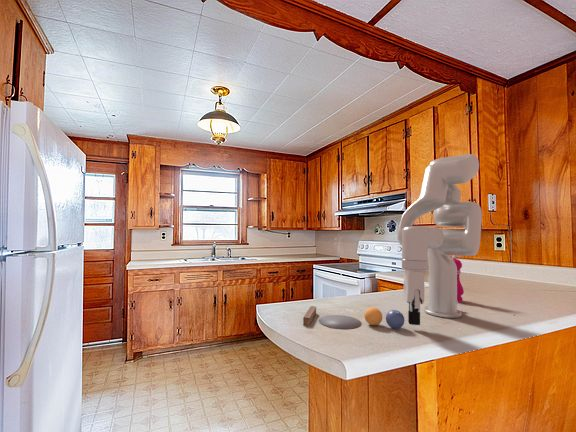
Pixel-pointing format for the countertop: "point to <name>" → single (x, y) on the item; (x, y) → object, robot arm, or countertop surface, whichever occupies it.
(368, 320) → the object ball
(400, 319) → the blue ball
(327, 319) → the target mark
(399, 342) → the countertop surface
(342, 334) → the countertop surface
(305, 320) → the rail
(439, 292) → the robot arm
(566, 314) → the countertop surface
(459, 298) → the pepper mill
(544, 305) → the countertop surface
